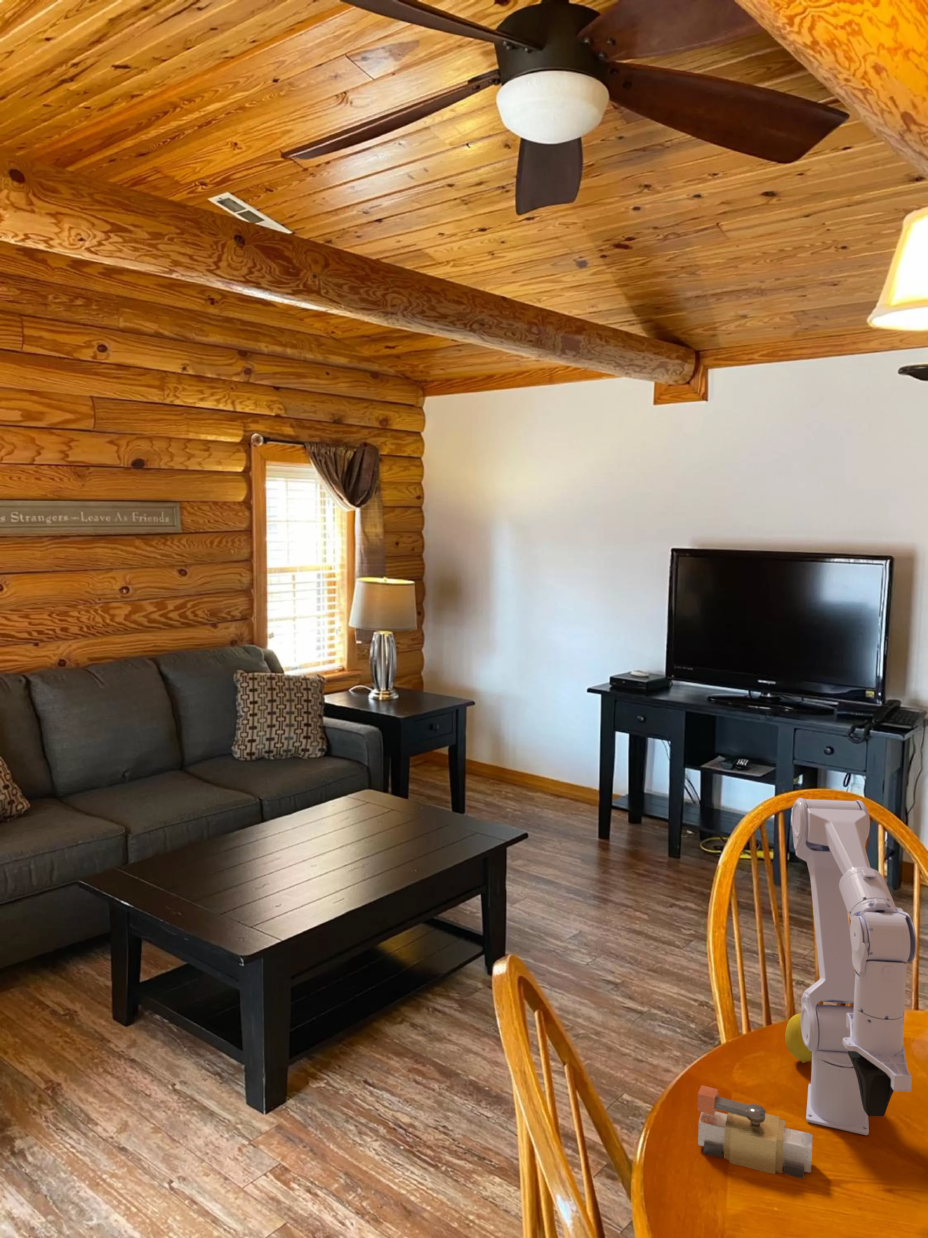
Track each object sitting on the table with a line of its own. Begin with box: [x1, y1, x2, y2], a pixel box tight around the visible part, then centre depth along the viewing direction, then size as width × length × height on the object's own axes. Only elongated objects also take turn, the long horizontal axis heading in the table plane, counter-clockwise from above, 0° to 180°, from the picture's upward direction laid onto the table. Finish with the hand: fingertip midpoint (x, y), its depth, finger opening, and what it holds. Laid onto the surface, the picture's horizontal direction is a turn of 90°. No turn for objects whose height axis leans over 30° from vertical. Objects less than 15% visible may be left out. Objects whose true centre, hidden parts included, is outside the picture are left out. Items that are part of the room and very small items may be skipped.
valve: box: [697, 1111, 814, 1179], centre depth 121 cm, size 6×14×5 cm, turn 68°
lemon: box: [784, 1012, 812, 1064], centre depth 143 cm, size 6×6×8 cm
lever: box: [696, 1084, 766, 1123], centre depth 123 cm, size 8×2×2 cm, turn 63°
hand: (873, 1113), depth 116 cm, fingers closed
